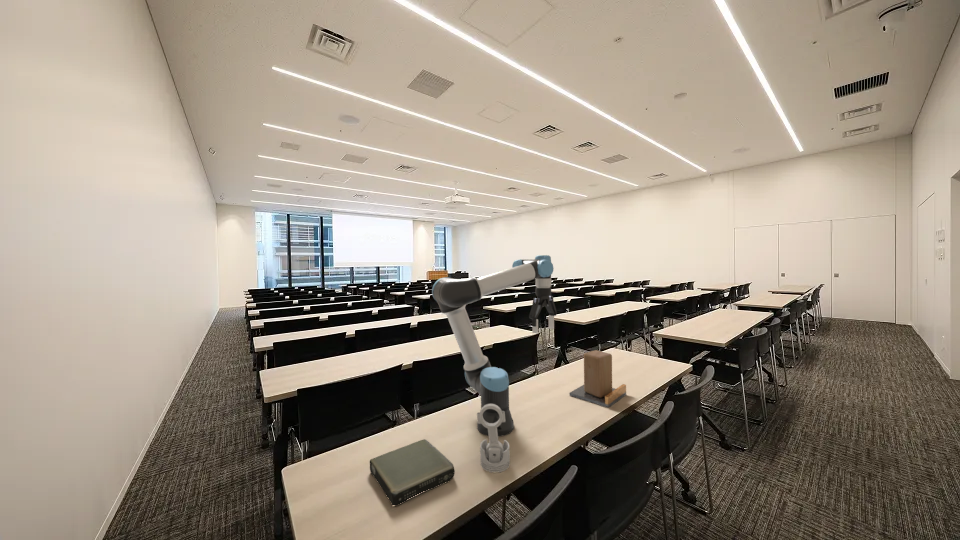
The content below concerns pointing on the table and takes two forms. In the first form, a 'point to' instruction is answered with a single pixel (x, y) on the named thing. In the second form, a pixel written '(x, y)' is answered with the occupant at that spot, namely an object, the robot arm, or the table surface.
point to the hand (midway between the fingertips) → (543, 330)
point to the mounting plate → (602, 401)
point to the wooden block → (598, 373)
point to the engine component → (493, 443)
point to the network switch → (411, 470)
